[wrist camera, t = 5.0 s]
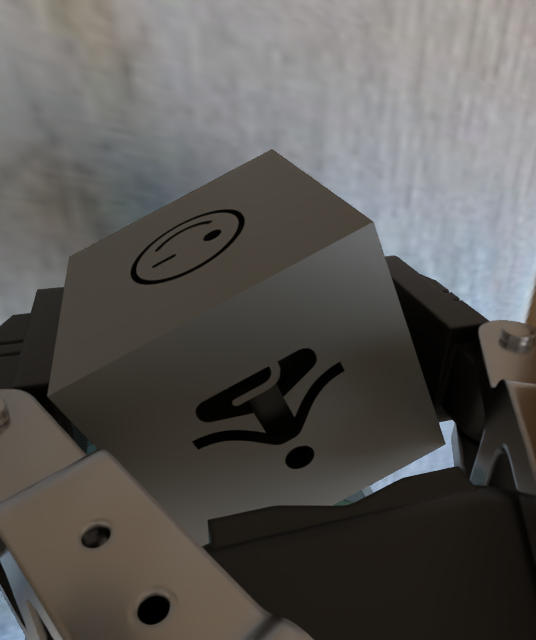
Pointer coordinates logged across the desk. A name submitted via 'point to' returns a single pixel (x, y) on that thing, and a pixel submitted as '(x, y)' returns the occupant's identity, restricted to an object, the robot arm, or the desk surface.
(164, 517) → the robot arm
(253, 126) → the desk surface
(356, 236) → the dice cube
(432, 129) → the desk surface
